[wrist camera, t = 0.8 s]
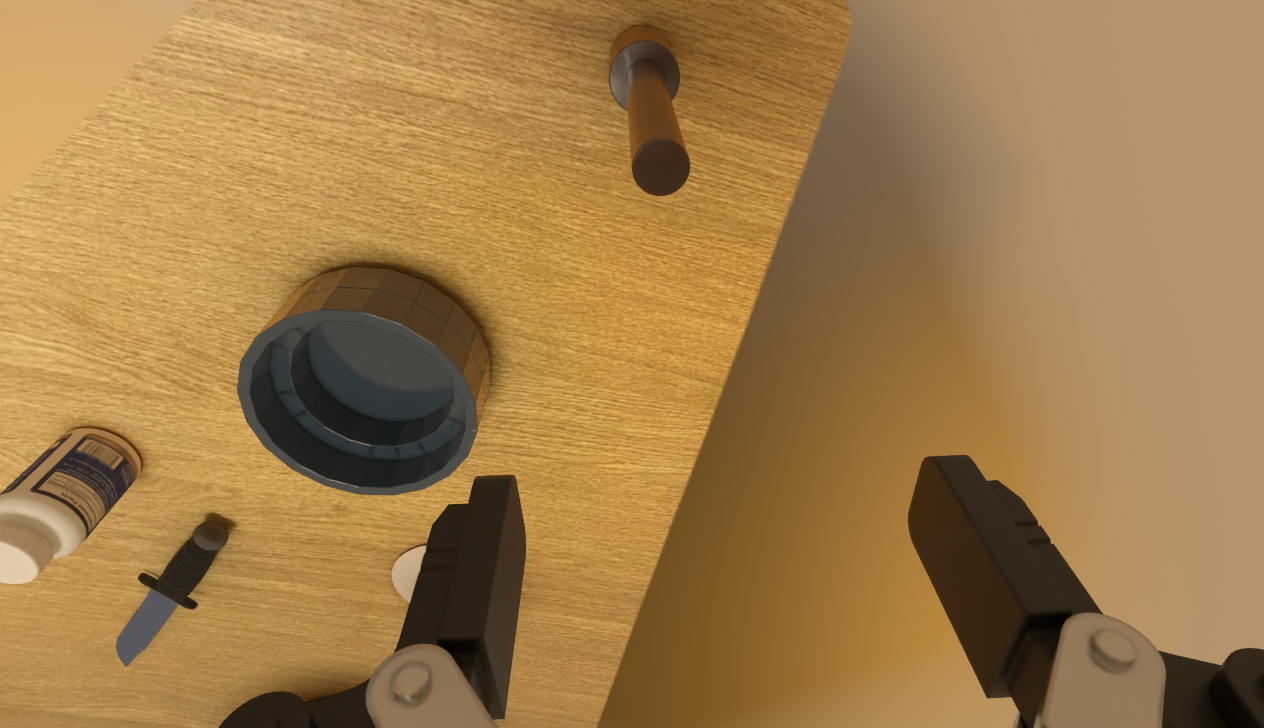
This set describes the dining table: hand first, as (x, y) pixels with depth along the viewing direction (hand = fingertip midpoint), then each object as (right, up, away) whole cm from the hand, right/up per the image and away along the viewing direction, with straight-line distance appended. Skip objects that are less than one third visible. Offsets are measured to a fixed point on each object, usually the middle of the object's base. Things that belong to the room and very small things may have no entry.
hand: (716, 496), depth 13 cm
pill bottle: (-39, -4, +35) cm, 53 cm away
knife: (-41, -17, +44) cm, 62 cm away
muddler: (-1, +18, +21) cm, 28 cm away
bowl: (-18, +3, +31) cm, 36 cm away
